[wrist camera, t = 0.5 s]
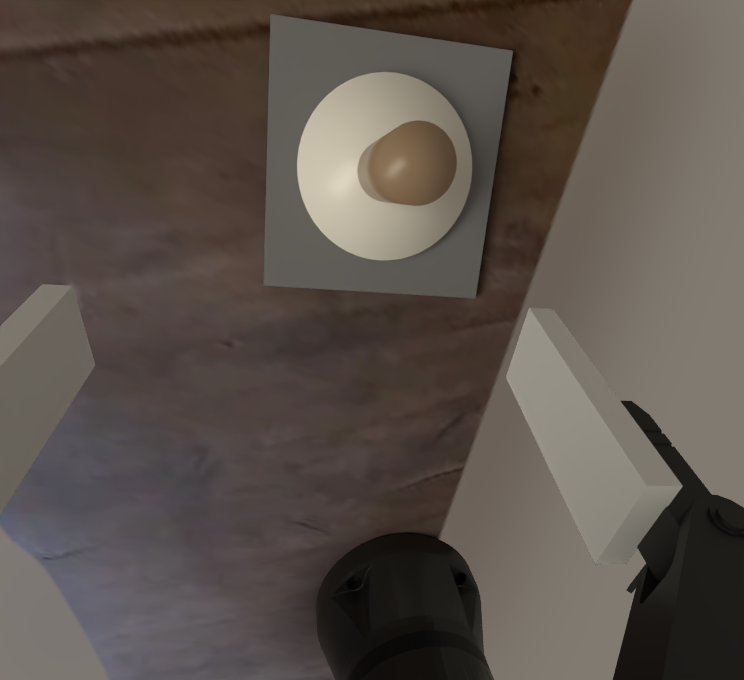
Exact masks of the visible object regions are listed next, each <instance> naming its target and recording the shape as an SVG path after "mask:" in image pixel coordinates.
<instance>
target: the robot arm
mask: <svg viewBox="0 0 744 680" xmlns="http://www.w3.org/2000/svg"><path fill="white" fill-rule="evenodd" d="M94 366H95V362H94V359H93V355H92V352H91V348H90V345H89V342H88V338H87V335H86V331H85V328H84V324H83V321H82V317H81V314H80V310H79V307H78V304H77V300H76V297H75V293H74V290H73V286H65V285H45V284H42V285H41V286H40V287H39V288H38V289H37V290H36V291H35V292H34V293H33V294H32V295H31V296H30V297H29V298H28V299H27V300H26V301H25V302H24V303H23V304H22V305H21V306H20V307H19V308H18V309H17V310H16V311H15V312H14V313H13V314H12V315H11V316H10V317H9V318H8V319H7V320H6V321H5V322H4V323H3V324H2V325H1V326H0V514H1V513H2V511H3V510H4V508H5V506H6V505H7V503H8V502H9V500H10V499H11V497H12V495H13V494H14V492H15V491H16V489H17V488H18V486H19V484H20V483H21V481H22V480H23V478H24V477H25V475H26V473H27V472H28V470H29V469H30V467H31V466H32V464H33V462H34V461H35V459H36V458H37V456H38V455H39V453H40V451H41V450H42V448H43V447H44V445H45V443H46V442H47V440H48V439H49V437H50V436H51V434H52V432H53V431H54V429H55V428H56V426H57V425H58V423H59V421H60V420H61V418H62V417H63V415H64V414H65V412H66V410H67V409H68V407H69V406H70V404H71V403H72V401H73V399H74V398H75V396H76V395H77V393H78V392H79V390H80V388H81V387H82V385H83V384H84V382H85V381H86V379H87V377H88V376H89V374H90V373H91V371H92V370H93V368H94ZM506 378H507V380H508V383H509V385H510V387H511V389H512V391H513V393H514V395H515V397H516V399H517V402H518V403H519V406H520V408H521V410H522V412H523V414H524V416H525V418H526V420H527V423H528V425H529V427H530V429H531V431H532V433H533V435H534V437H535V439H536V441H537V444H538V446H539V448H540V450H541V452H542V454H543V456H544V458H545V460H546V462H547V465H548V467H549V469H550V471H551V473H552V475H553V477H554V479H555V481H556V483H557V486H558V488H559V490H560V492H561V494H562V496H563V498H564V500H565V502H566V504H567V506H568V509H569V511H570V513H571V515H572V517H573V519H574V521H575V523H576V525H577V528H578V530H579V532H580V534H581V536H582V538H583V540H584V542H585V544H586V546H587V549H588V551H589V553H590V555H591V557H592V559H593V561H594V563H595V564H626V563H627V562H628V561H629V560H630V558H631V557H632V555H633V554H634V553H635V551H636V550H637V548H638V549H639V551H640V553H641V555H642V556H643V558H644V560H645V562H646V565H645V566H644V567H643V568H642V570H641V571H640V572H639V573H638V575H637V576H636V577H635V579H634V580H633V582H632V583H631V584H630V586H629V587H628V589H627V591H628V592H630V593H632V592H633V591H634V589H635V588H636V591H635V595H634V599H633V602H632V606H631V610H630V614H629V618H628V622H627V626H626V630H625V634H624V638H623V642H622V646H621V650H620V654H619V657H618V661H617V665H616V669H615V674H614V677H613V680H744V508H743V507H741V506H740V505H738V504H736V503H735V502H733V501H731V500H729V499H726V498H724V497H721V496H718V495H712V494H711V493H710V492H709V491H708V489H707V488H706V487H705V486H704V484H703V483H702V482H701V480H700V479H699V478H698V477H697V475H696V474H695V473H694V472H693V470H692V469H691V468H690V466H689V465H688V464H687V463H686V461H685V460H684V459H683V457H682V456H681V455H680V453H678V451H677V450H676V448H675V447H672V446H671V444H672V443H671V442H670V441H669V439H668V438H667V437H666V436H665V434H662V433H661V429H660V428H659V427H658V425H657V424H656V423H655V421H654V420H653V419H652V418H651V416H650V415H649V414H647V413H646V412H645V411H644V410H642V409H641V408H640V407H639V406H637V405H636V404H635V403H633V402H632V401H620V400H619V398H618V397H617V396H616V394H615V393H614V392H613V390H612V389H611V388H610V386H609V385H608V383H607V382H606V381H605V379H604V378H603V377H602V375H601V374H600V373H599V371H598V370H597V368H596V367H595V366H594V364H593V363H592V362H591V360H590V359H589V358H588V356H587V355H586V354H585V352H584V351H583V349H582V348H581V347H580V345H579V344H578V343H577V341H576V340H575V339H574V337H573V336H572V335H571V333H570V332H569V330H568V329H567V328H566V326H565V325H564V323H563V322H562V321H561V319H560V318H559V317H558V316H557V314H556V313H555V311H554V310H553V309H543V308H529V310H528V313H527V316H526V319H525V322H524V325H523V328H522V331H521V334H520V337H519V340H518V343H517V346H516V349H515V352H514V355H513V358H512V361H511V364H510V367H509V370H508V373H507V376H506ZM316 615H317V632H318V637H319V641H320V645H321V647H322V650H323V652H324V655H325V657H326V659H327V661H328V664H329V666H330V668H331V670H332V673H333V675H334V677H335V680H494V678H493V676H492V674H491V672H490V669H489V666H488V664H487V661H486V659H485V656H484V648H483V631H482V615H481V600H480V595H479V591H478V587H477V584H476V582H475V580H474V578H473V575H472V573H471V571H470V569H469V567H468V565H467V563H466V561H465V560H464V559H463V557H462V556H461V555H460V554H459V553H458V552H457V551H456V550H455V549H453V547H451V546H450V545H448V544H446V543H445V542H443V541H441V540H438V539H436V538H433V537H429V536H425V535H419V534H395V535H389V536H384V537H380V538H377V539H374V540H371V541H369V542H367V543H364V544H362V545H360V546H358V547H357V548H355V549H353V550H352V551H350V552H349V553H348V554H346V555H345V556H344V557H342V558H341V559H340V560H339V561H338V562H337V563H336V564H335V565H334V566H333V568H332V569H331V570H330V571H329V573H328V574H327V576H326V577H325V579H324V581H323V583H322V585H321V587H320V590H319V593H318V597H317V603H316Z"/></svg>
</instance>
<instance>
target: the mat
mask: <svg viewBox="0 0 744 680" xmlns="http://www.w3.org/2000/svg"><path fill="white" fill-rule="evenodd" d="M512 55H513V51H510V50H504V49H497V48H491V47H484V46H477V45H471V44H464V43H458V42H451V41H444V40H438V39H431V38H425V37H418V36H411V35H405V34H398V33H392V32H385V31H378V30H372V29H365V28H359V27H352V26H345V25H339V24H332V23H326V22H319V21H312V20H306V19H299V18H293V17H286V16H279V15H273V14H271V21H270V59H269V97H268V136H267V174H266V212H265V251H264V286H281V287H297V288H313V289H330V290H346V291H362V292H378V293H395V294H411V295H427V296H444V297H460V298H476V291H477V285H478V278H479V272H480V265H481V259H482V252H483V245H484V239H485V232H486V226H487V219H488V213H489V206H490V199H491V193H492V186H493V180H494V173H495V167H496V160H497V153H498V147H499V140H500V134H501V127H502V121H503V114H504V107H505V101H506V94H507V88H508V81H509V75H510V68H511V61H512ZM377 72H394V73H400V74H405V75H409V76H411V77H414V78H417V79H419V80H421V81H423V82H425V83H427V84H428V85H430V86H431V87H433V88H434V89H435V90H437V91H438V92H439V93H441V94H442V95H443V96H444V97H445V98H446V99H447V100H448V101H449V103H450V104H451V105H452V107H453V108H454V109H455V111H456V112H457V114H458V116H459V117H460V119H461V121H462V123H463V125H464V128H465V130H466V132H467V136H468V139H469V143H470V148H471V154H472V178H471V184H470V189H469V193H468V196H467V199H466V202H465V205H464V207H463V209H462V211H461V213H460V215H459V217H458V218H457V220H456V221H455V223H454V224H453V226H452V227H451V228H450V229H449V231H448V232H447V233H446V234H445V235H444V236H443V237H442V238H441V239H440V240H438V241H437V242H436V243H434V244H433V245H432V246H430V247H429V248H427V249H425V250H424V251H422V252H420V253H417V254H415V255H412V256H410V257H406V258H402V259H396V260H372V259H367V258H363V257H359V256H356V255H354V254H352V253H349V252H347V251H345V250H344V249H342V248H340V247H339V246H337V245H336V244H334V243H333V242H332V241H331V240H329V239H328V238H327V237H326V236H325V235H324V234H323V233H322V232H321V231H320V229H319V228H318V227H317V225H316V224H315V223H314V221H313V220H312V218H311V216H310V215H309V213H308V211H307V209H306V207H305V204H304V202H303V199H302V196H301V192H300V189H299V183H298V176H297V158H298V149H299V145H300V141H301V137H302V134H303V131H304V129H305V126H306V124H307V122H308V120H309V118H310V116H311V114H312V113H313V112H314V110H315V109H316V107H317V106H318V105H319V103H320V102H321V101H322V100H323V99H324V98H325V97H326V96H327V95H328V94H329V93H330V92H332V91H333V90H334V89H335V88H337V87H338V86H340V85H341V84H343V83H345V82H347V81H348V80H351V79H353V78H356V77H358V76H361V75H365V74H369V73H377Z"/></svg>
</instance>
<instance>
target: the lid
mask: <svg viewBox="0 0 744 680" xmlns="http://www.w3.org/2000/svg"><path fill="white" fill-rule="evenodd" d="M297 176H298V183H299V189H300V192H301V196H302V199H303V202H304V204H305V207H306V209H307V211H308V213H309V215H310V216H311V218H312V220H313V221H314V223H315V224H316V225H317V227H318V228H319V229H320V231H321V232H322V233H323V234H324V235H325V236H326V237H327V238H328V239H329V240H331V241H332V242H333V243H334V244H336V245H337V246H339V247H340V248H342V249H344V250H345V251H347V252H349V253H352V254H354V255H356V256H359V257H363V258H367V259H372V260H396V259H402V258H406V257H410V256H412V255H415V254H417V253H420V252H422V251H424V250H425V249H427V248H429V247H430V246H432V245H433V244H434V243H436V242H437V241H438V240H440V239H441V238H442V237H443V236H444V235H445V234H446V233H447V232H448V231H449V229H450V228H451V227H452V226H453V224H454V223H455V221H456V220H457V218H458V217H459V215H460V213H461V211H462V209H463V207H464V205H465V202H466V199H467V196H468V193H469V189H470V184H471V178H472V154H471V148H470V143H469V139H468V136H467V132H466V130H465V128H464V125H463V123H462V121H461V119H460V117H459V116H458V114H457V112H456V111H455V109H454V108H453V107H452V105H451V104H450V103H449V101H448V100H447V99H446V98H445V97H444V96H443V95H442V94H441V93H439V92H438V91H437V90H435V89H434V88H433V87H431V86H430V85H428V84H427V83H425V82H423V81H421V80H419V79H417V78H414V77H411V76H409V75H405V74H400V73H394V72H377V73H369V74H365V75H361V76H358V77H356V78H353V79H351V80H348V81H347V82H345V83H343V84H341V85H340V86H338V87H337V88H335V89H334V90H333V91H332V92H330V93H329V94H328V95H327V96H326V97H325V98H324V99H323V100H322V101H321V102H320V103H319V105H318V106H317V107H316V109H315V110H314V112H313V113H312V114H311V116H310V118H309V120H308V122H307V124H306V126H305V129H304V131H303V134H302V137H301V141H300V145H299V149H298V158H297Z"/></svg>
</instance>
